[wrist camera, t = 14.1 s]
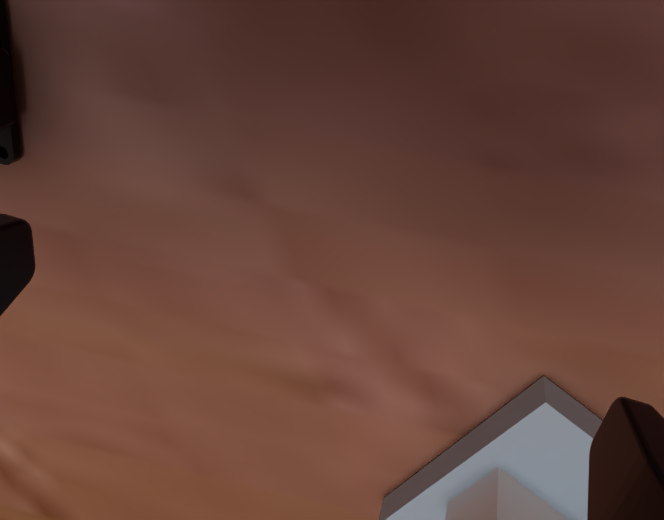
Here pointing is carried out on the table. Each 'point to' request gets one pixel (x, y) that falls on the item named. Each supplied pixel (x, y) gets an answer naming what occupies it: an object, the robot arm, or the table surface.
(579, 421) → the stand
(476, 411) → the table surface
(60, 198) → the table surface
